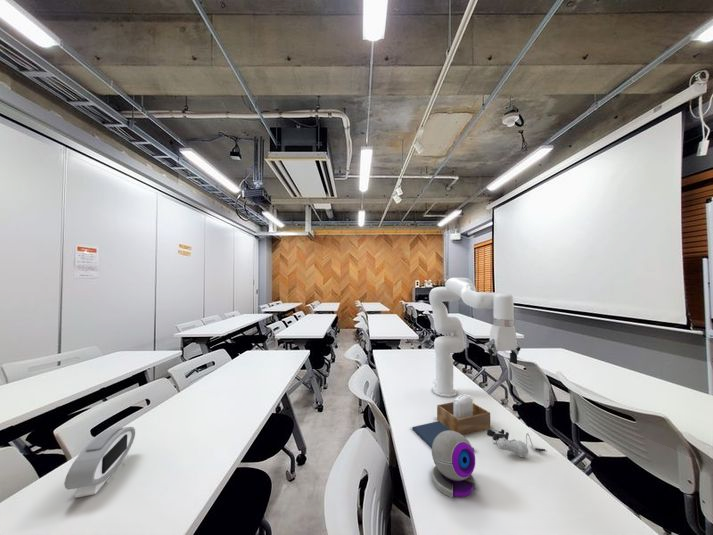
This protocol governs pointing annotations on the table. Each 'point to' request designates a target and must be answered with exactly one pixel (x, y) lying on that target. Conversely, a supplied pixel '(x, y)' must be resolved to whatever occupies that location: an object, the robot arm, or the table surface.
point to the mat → (430, 431)
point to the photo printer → (463, 406)
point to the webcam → (453, 464)
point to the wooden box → (463, 419)
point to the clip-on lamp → (511, 443)
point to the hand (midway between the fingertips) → (503, 363)
